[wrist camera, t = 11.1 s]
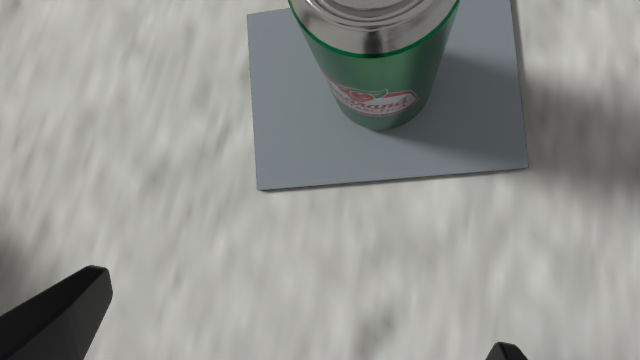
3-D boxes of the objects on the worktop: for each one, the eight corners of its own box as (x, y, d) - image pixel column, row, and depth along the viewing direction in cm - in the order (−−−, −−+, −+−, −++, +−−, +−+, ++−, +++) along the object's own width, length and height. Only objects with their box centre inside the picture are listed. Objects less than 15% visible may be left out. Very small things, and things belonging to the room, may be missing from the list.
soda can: (321, 115, 23) (247, 13, 11) (352, 27, 23) (312, -167, 11) (412, 145, 22) (436, 67, 10) (444, 53, 22) (505, -129, 10)
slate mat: (504, -22, 22) (507, -26, 22) (526, 168, 21) (528, 167, 21) (249, 17, 25) (246, 14, 24) (259, 190, 24) (257, 190, 23)
